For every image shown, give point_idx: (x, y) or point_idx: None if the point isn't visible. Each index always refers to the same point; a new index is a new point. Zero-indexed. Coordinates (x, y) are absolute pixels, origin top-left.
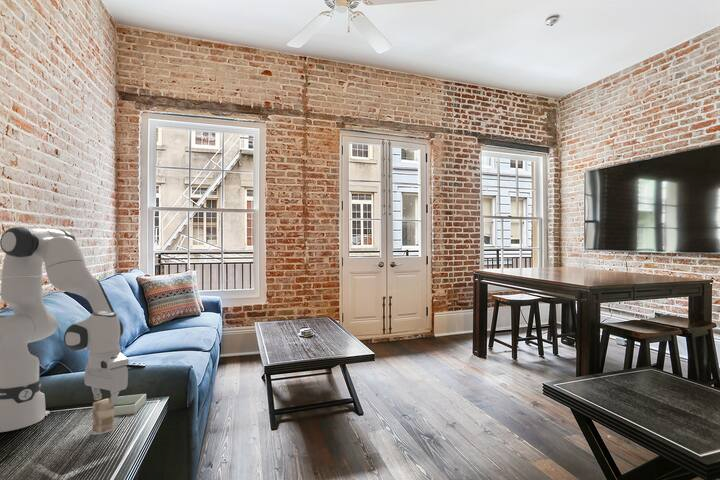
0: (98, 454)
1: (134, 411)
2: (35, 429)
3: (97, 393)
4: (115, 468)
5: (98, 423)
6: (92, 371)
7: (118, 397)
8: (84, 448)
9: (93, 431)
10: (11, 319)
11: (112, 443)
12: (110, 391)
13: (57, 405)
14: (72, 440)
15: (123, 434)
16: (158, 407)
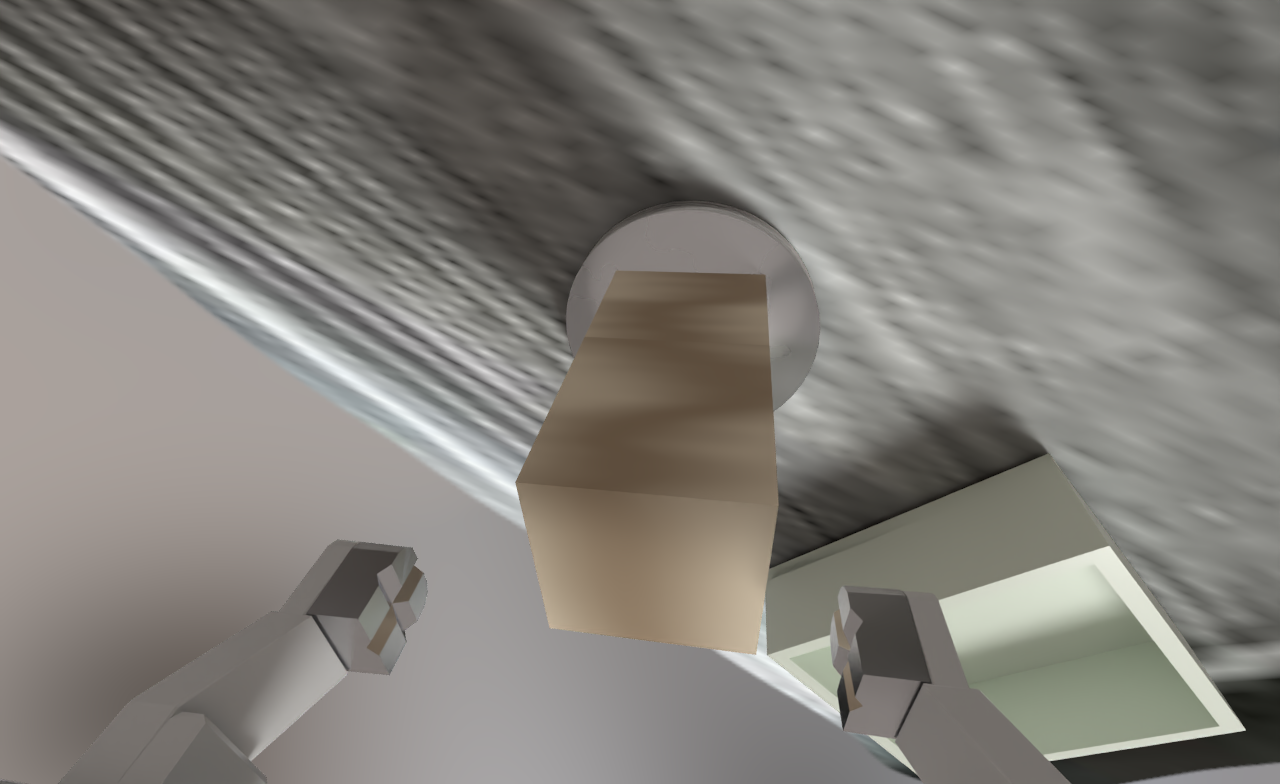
0: (186, 34)
1: (770, 600)
2: None
3: (914, 724)
4: None
5: (624, 315)
6: None
7: (1162, 729)
8: (450, 23)
9: (719, 261)
10: None
11: (362, 230)
12: (167, 768)
13: None
14: (824, 56)
15: (485, 363)
16: (756, 672)
